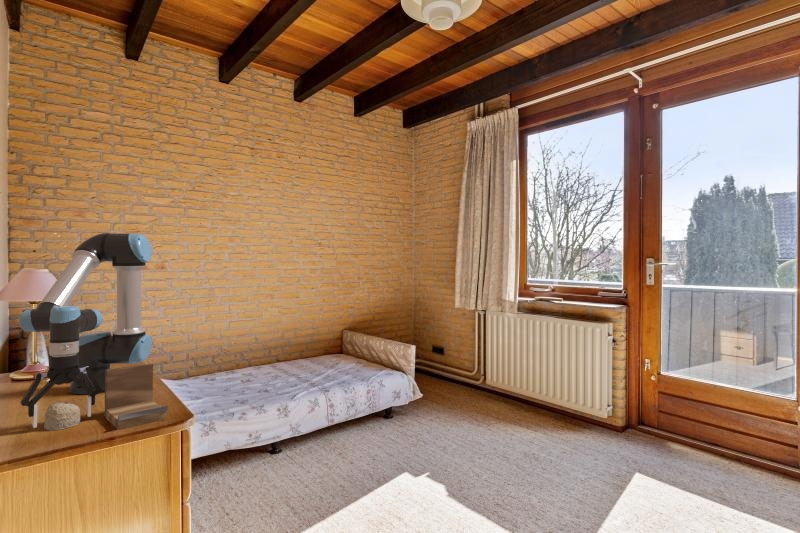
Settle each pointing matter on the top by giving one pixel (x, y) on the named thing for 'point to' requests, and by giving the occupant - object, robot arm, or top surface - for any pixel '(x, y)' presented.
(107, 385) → the board
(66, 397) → the top surface
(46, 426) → the sponge
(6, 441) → the top surface
